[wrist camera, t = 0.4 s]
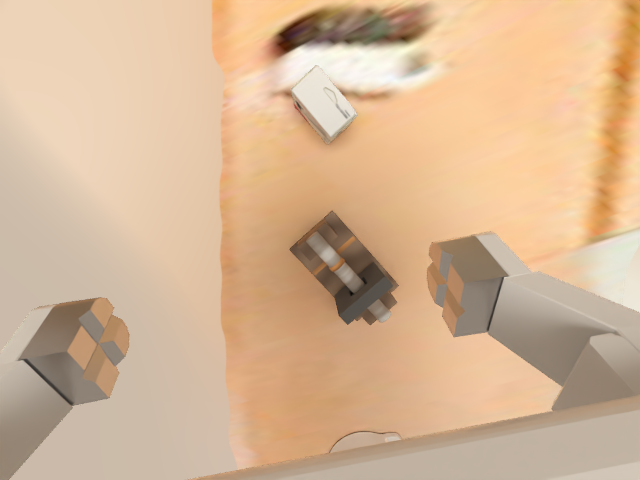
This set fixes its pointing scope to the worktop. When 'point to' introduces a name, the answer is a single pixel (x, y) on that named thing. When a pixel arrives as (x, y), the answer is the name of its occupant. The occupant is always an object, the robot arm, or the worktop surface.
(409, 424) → the worktop surface
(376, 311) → the pipe stand
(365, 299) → the dark grey flat slab
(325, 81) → the ink box
